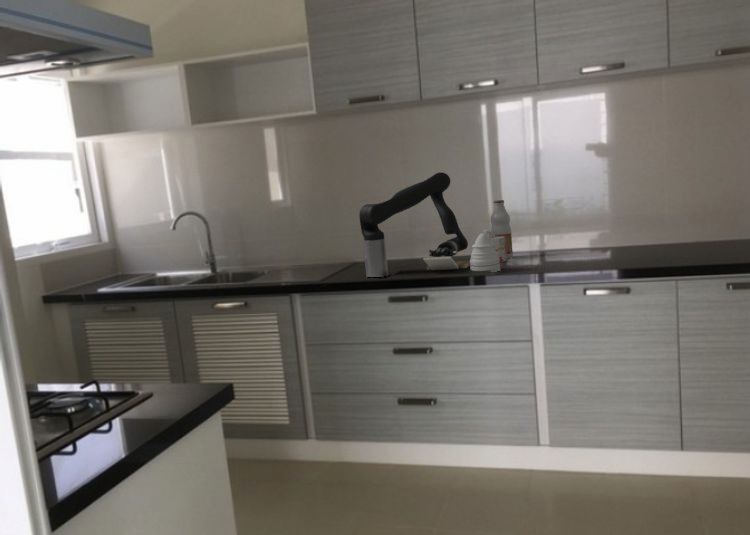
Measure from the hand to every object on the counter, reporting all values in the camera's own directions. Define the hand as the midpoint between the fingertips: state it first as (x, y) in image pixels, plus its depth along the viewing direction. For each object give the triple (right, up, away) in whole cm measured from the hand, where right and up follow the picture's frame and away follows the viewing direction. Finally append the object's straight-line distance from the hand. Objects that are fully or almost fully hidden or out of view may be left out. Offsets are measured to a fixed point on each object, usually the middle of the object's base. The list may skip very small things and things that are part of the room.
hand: (437, 255), depth 278 cm
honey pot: (+21, -7, +4) cm, 23 cm away
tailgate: (+5, -6, +12) cm, 14 cm away
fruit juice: (+36, -1, +38) cm, 52 cm away
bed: (+7, -6, +18) cm, 20 cm away
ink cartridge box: (+31, -3, +27) cm, 41 cm away
